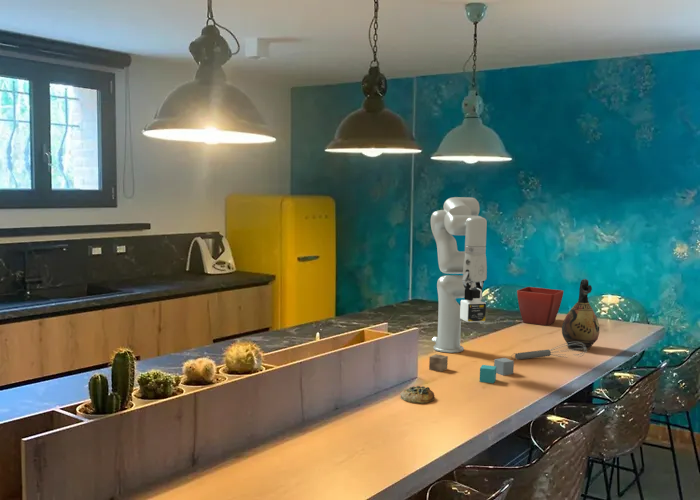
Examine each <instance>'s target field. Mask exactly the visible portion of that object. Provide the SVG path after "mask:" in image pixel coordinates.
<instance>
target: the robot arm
mask: <svg viewBox="0 0 700 500" xmlns="http://www.w3.org/2000/svg"><path fill="white" fill-rule="evenodd" d="M479 213H480V203H479V201H478V200H477V199H476V198H475V197H471V196H470V197H467V196H466V197H465V196H463V197H462V196H461V197H458V196H454V197H449V198H447V199H446V200H445V201H444V203H443V209H440V210H436V211H433V212H432V214H431V216H430V227H431V228H430V229H431V232H432V235H433V238H434V241H435V243H436V248H437V249H436V250H437V263H438V268H439V270H440V272H442V274H447V275H442V276H439V278H438V279H437V283H436V288H437V289H436V290H437V299H438V308H437V309H438V310H437V311H438V314H437V315H438V316H437V318H438V319H437V336H433V338H431V342H434V343H435V344H434V345H433V350H434V351H437V352H440V353H452V354H453V353H454V354H457V353H461V352H463V351H464V349H465V347H464V346H462V345H461V330H462V329H461V328H462V327H461V326H462V319H460V304H459V302H457V299H463V300H470V301H472V300H473V290H472V288H479V289H481V290H482V291H483V288H484V284H485V281H486V280H487V275H488V274H487V273H488V271H487V269H488V266H487V263H488V262H487V256H486V255H487V254H486V250H487V247H486V246H487V223H488V221H487V219H486V218H485V217H483V216H481V215H479ZM454 236H465V239H464V251H459V250H458V245H457V240H456V238H455V237H454ZM449 274H450V275H449ZM459 274H460V275H459Z"/></svg>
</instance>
